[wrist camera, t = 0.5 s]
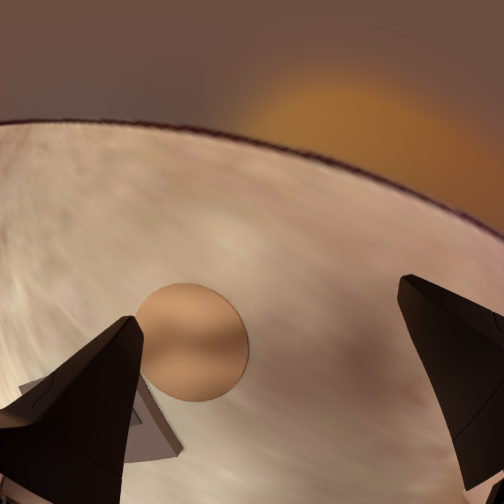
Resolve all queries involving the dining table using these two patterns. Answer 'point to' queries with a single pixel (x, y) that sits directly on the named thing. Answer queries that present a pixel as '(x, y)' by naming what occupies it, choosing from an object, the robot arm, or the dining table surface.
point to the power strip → (142, 428)
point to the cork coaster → (191, 342)
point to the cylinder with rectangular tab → (482, 490)
